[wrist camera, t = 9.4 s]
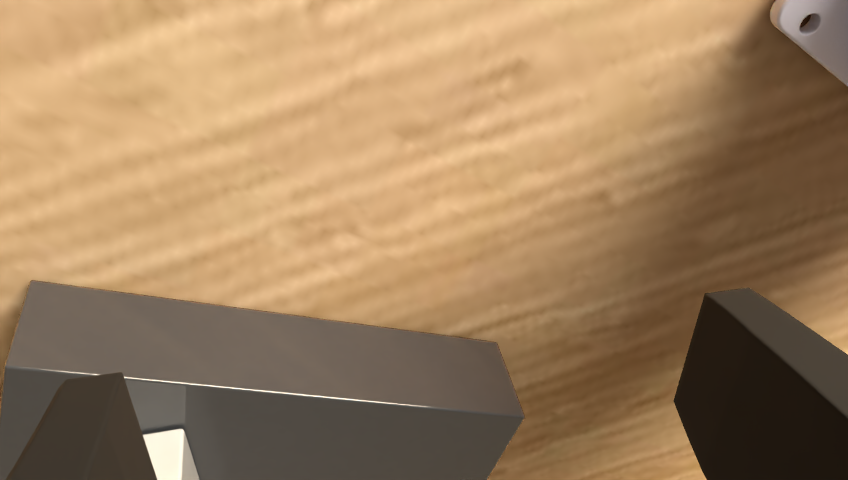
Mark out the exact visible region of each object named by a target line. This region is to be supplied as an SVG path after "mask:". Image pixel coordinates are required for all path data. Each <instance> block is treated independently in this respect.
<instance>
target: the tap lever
mask: <svg viewBox="0 0 848 480" xmlns="http://www.w3.org/2000/svg"><path fill="white" fill-rule="evenodd" d="M143 437H144V440H145V443H146V447H147V450H148V453H149V456H150V459H151V462H152V465H153V468H154V471H155V474H156V477H157V480H199V476H198V473H197V470H196V467H195V464H194V460H193V457H192V454H191V451H190V448H189V444H188V441H187V438H186V435H185V432H184V430H183V429H175V430H169V431H162V432H156V433H150V434H144V435H143Z"/></svg>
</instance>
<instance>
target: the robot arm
mask: <svg viewBox="0 0 848 480" xmlns="http://www.w3.org/2000/svg"><path fill="white" fill-rule="evenodd" d="M810 14H811V18H810V20H809V21H808V23H807V24H806V25H804V26H803V27H801V28H800V24H801V22H802V21H803V19H804V18H805V17H807V16H808V15H810ZM770 20H771V22H772V23H773V25H774V26H775V27H776V28H777V29H779V30H780V31H781V32H782V33H783V34H785V35H786V36H787V37H788V38H789V39H791V40H792V41H793V42H794V43H796V44H797V45H798V46H799V47H800V48H802V49H803V50H804V51H805V52H806V53H808V54H809V55H810V56H811V57H812V58H814V59H815V60H816V61H817V62H818V63H820V64H821V65H822V66H823V67H824V68H826V69H827V70H828V71H829V72H830V73H832V74H833V75H834V76H835V77H837V78H838V79H839V80H840V81H841V82H843V83H844V84H845V85H846V86H847V87H848V0H776V1H775V2H774V4H773V5H772V8H771V11H770ZM674 403H675V406H676V408H677V411H678V413H679V416H680V418H681V421H682V424H683V426H684V429H685V431H686V434H687V436H688V439H689V441H690V444H691V446H692V448H693V450H694V453H695V455H696V457H697V460H698V462H699V464H700V467H701V469H702V471H703V473H704V475H705V477H706V479H707V480H848V355H847V354H846V353H844V352H843V351H842V350H840V349H839V348H837V347H836V346H834V345H833V344H831V343H830V342H829V341H827V340H826V339H824V338H823V337H821V336H820V335H818V334H817V333H816V332H814V331H813V330H811V329H810V328H808V327H807V326H805V325H804V324H803V323H801V322H800V321H798V320H797V319H795V318H794V317H792V316H791V315H789V314H788V313H787V312H785V311H784V310H782V309H781V308H779V307H778V306H776V305H775V304H773V303H772V302H770V301H769V300H767V299H766V298H764V297H763V296H761V295H759V294H758V293H756V292H755V291H753V290H752V289H750V288H742V289H735V290H728V291H720V292H713V293H705V295H704V298H703V302H702V305H701V309H700V312H699V316H698V319H697V322H696V326H695V329H694V333H693V336H692V339H691V343H690V346H689V350H688V353H687V357H686V360H685V363H684V367H683V370H682V374H681V377H680V380H679V384H678V387H677V391H676V394H675V398H674ZM6 480H157V477H156V474H155V471H154V468H153V465H152V462H151V459H150V456H149V453H148V450H147V447H146V443H145V440H144V437H143V434H142V431H141V428H140V425H139V422H138V419H137V416H136V413H135V410H134V407H133V404H132V401H131V398H130V395H129V391H128V388H127V385H126V382H125V379H124V376H123V373H122V372H118V373H110V374H103V375H95V376H88V377H80V378H73V379H66V380H65V381H64V383H63V384H62V385H61V386H60V387H59V388H58V390H57V392H56V393H55V395H54V397H53V399H52V401H51V402H50V404H49V406H48V408H47V410H46V411H45V413H44V415H43V417H42V418H41V420H40V422H39V424H38V426H37V427H36V429H35V431H34V433H33V434H32V436H31V438H30V440H29V441H28V443H27V445H26V446H25V448H24V450H23V452H22V453H21V455H20V457H19V458H18V460H17V462H16V463H15V465H14V467H13V468H12V470H11V472H10V473H9V475H8V477H7V478H6Z"/></svg>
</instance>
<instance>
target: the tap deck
mask: <svg viewBox="0 0 848 480" xmlns="http://www.w3.org/2000/svg"><path fill="white" fill-rule="evenodd" d="M118 372H122V373H123V376H124V379H125V382H126V385H127V388H128V391H129V395H130V398H131V401H132V404H133V407H134V410H135V413H136V416H137V419H138V422H139V425H140V428H141V431H142V434H143V435H144V434H150V433H156V432H162V431H169V430H175V429H183V430H184V432H185V435H186V438H187V441H188V444H189V448H190V451H191V454H192V457H193V460H194V464H195V467H196V470H197V473H198V476H199V480H487V479H488V478H489V476H490V474H491V473H492V471H493V469H494V468H495V466H496V464H497V463H498V461H499V460H500V458H501V456H502V455H503V453H504V451H505V450H506V448H507V446H508V445H509V443H510V441H511V440H512V438H513V437H514V435H515V433H516V432H517V430H518V428H519V427H520V425H521V423H522V422H523V420H524V418H525V415H524V413H523V410H522V407H521V405H520V402H519V399H518V397H517V394H516V391H515V389H514V386H513V384H512V381H511V378H510V376H509V373H508V370H507V368H506V365H505V362H504V360H503V357H502V354H501V352H500V349H499V347H498V344H497V343H496V342H491V341H484V340H476V339H469V338H461V337H454V336H446V335H439V334H431V333H424V332H416V331H409V330H401V329H394V328H386V327H379V326H371V325H364V324H356V323H349V322H341V321H334V320H326V319H319V318H311V317H304V316H296V315H289V314H281V313H274V312H266V311H259V310H251V309H244V308H236V307H229V306H221V305H214V304H206V303H199V302H191V301H184V300H176V299H169V298H161V297H154V296H146V295H139V294H131V293H124V292H116V291H109V290H101V289H94V288H86V287H79V286H72V285H64V284H57V283H49V282H42V281H34V280H32V281H30V282H29V285H28V289H27V292H26V295H25V299H24V302H23V305H22V309H21V312H20V315H19V319H18V322H17V325H16V329H15V332H14V335H13V338H12V342H11V345H10V348H9V352H8V355H7V358H6V362H5V365H4V373H3V383H2V394H1V405H0V480H6V478H7V477H8V475H9V473H10V472H11V470H12V468H13V467H14V465H15V463H16V462H17V460H18V458H19V457H20V455H21V453H22V452H23V450H24V448H25V446H26V445H27V443H28V441H29V440H30V438H31V436H32V434H33V433H34V431H35V429H36V427H37V426H38V424H39V422H40V420H41V418H42V417H43V415H44V413H45V411H46V410H47V408H48V406H49V404H50V402H51V401H52V399H53V397H54V395H55V393H56V392H57V390H58V388H59V387H60V386H61V385H62V384H63V383H64V381H65V380H66V379H73V378H80V377H88V376H95V375H103V374H110V373H118Z"/></svg>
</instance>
